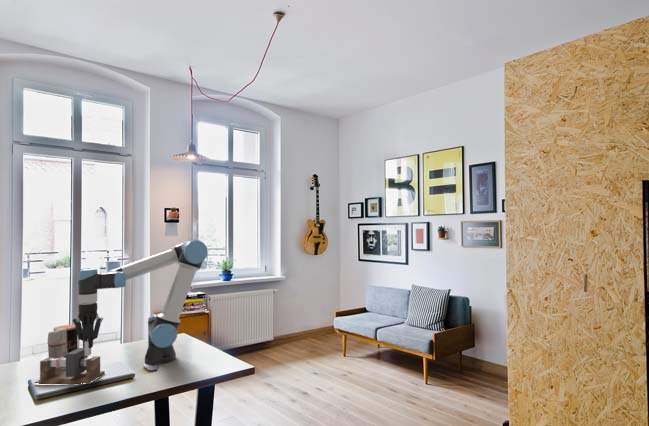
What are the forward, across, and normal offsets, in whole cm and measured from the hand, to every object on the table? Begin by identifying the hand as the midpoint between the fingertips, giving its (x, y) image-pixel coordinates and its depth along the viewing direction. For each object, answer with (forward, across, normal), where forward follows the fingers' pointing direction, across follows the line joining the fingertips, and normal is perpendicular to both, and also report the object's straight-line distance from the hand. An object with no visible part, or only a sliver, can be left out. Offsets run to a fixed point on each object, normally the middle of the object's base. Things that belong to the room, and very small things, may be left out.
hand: (87, 355), depth 189 cm
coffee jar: (+11, +28, -27) cm, 41 cm away
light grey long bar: (+5, +8, 0) cm, 9 cm away
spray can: (+11, +23, -14) cm, 29 cm away
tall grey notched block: (+8, +5, 0) cm, 9 cm away
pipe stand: (+11, +8, 0) cm, 14 cm away
